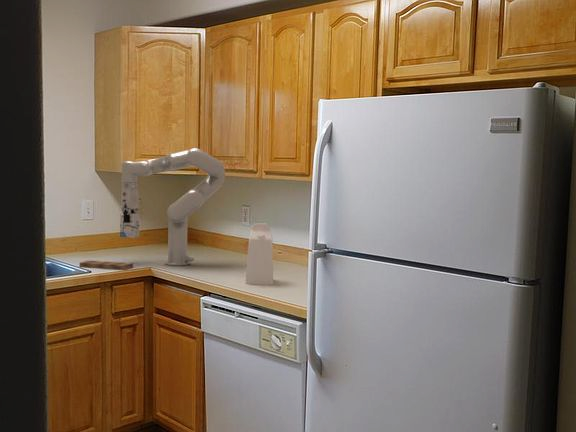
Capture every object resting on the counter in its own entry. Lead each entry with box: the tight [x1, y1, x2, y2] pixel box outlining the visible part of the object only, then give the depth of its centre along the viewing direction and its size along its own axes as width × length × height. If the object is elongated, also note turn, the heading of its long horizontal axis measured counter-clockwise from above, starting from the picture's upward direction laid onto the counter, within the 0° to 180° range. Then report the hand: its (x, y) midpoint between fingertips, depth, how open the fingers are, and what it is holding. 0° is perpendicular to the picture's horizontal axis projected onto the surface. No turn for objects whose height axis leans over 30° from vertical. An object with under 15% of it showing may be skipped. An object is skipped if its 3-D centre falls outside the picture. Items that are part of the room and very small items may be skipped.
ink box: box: [119, 212, 140, 239], centre depth 303 cm, size 9×5×12 cm, turn 71°
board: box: [79, 259, 134, 271], centre depth 293 cm, size 24×8×2 cm, turn 78°
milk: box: [245, 222, 274, 286], centre depth 267 cm, size 12×12×26 cm
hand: (129, 221), depth 303 cm, fingers closed on ink box, 5 cm apart
